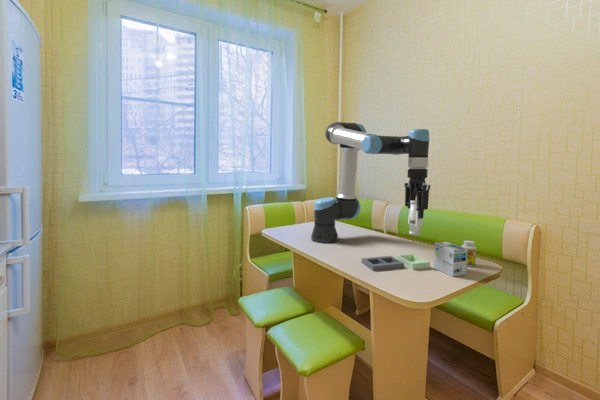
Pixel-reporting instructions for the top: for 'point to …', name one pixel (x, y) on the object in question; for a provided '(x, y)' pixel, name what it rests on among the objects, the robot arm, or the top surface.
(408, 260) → the parts tray
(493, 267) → the top surface
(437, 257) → the light bulb box
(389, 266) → the fuse holder
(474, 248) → the supplement bottle
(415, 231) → the cylinder
